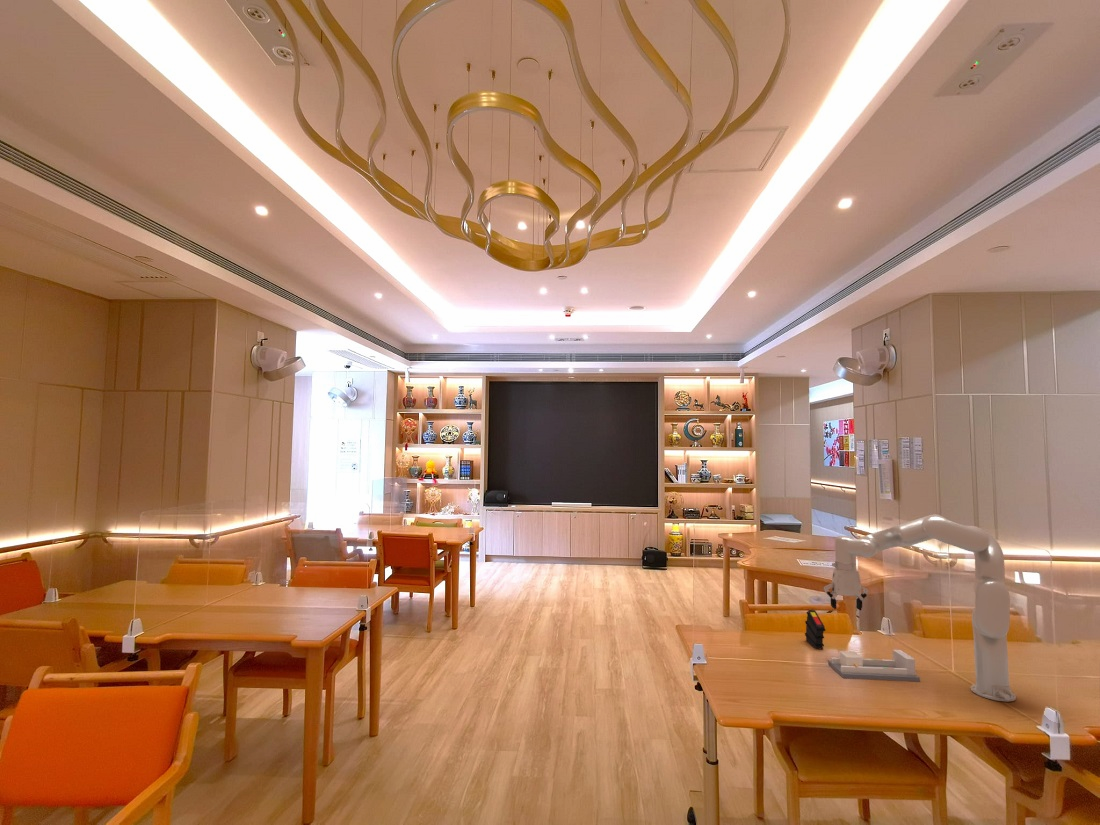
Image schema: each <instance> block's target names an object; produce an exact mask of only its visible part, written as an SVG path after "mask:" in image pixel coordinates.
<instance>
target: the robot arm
mask: <svg viewBox="0 0 1100 825" xmlns="http://www.w3.org/2000/svg"><path fill="white" fill-rule="evenodd" d="M933 539H934V540H936V541H939V542H942V543H945V544H948V545H950V546H953V547H956V548H959V549H961V550H964V551H968V552H971V553H973V555H974V582H973V591H974V595H975V598H974V599H975V600H974V603H975V604H974V605H975V606H974V608H973V610H972V612H971V623H972V624H971V625H972V632H973V635H972V636H973V650H974V651H973V652H974V673H975V684H974V683H973V684H972V685H970V690H971V692H973V693H974V694H975V695H977V696H979V697H982V698H985V699H989V700H992V701H998V702H1006V703H1009V702H1014V701H1016V699H1017V698H1016V697H1017V696H1016V694H1015V693H1013V692H1012V691H1011V690H1012V689H1011V688H1012V687H1010V673H1009V672H1010V671H1009V657H1008V654H1009V652H1008V651H1009V650H1008V638H1007V637H1008V636H1007V634H1008V633H1009V630H1010V617H1011V615H1010V614H1011V612H1010V611H1011V598H1010V597H1011V596H1010V592H1009V589H1008V588H1007V586H1006V580H1005V578H1006V576H1005V575H1006V574H1005V573H1006V572H1005V557H1004V552H1003V549H1002V547H1001V546H1000V543H999V542H998V541H997V539H996V538H995V537H994V536H993V535H991V533H989V532H987V531H986V530H985V529H984V528H983V529H982V528H980V527H979V526H976V525H964V524H961V523H957V522H955V521H952V520H951V519H947V518H946V517H944V516H943V515H940V514H937V513H936V514H935V513H934V514H929V515H926V516H922V517H920V518H917V519H912V520H909V521H907V522H904V523H900V524H897V525H895V526H894V525H893V526H892V527H889V528H886V529H883V530H879V531H876V532H873V533H870V534H866V535H864V536H861V537H860V538H854V537H853V536H849V535H837V536H836V537H835V539H834V552H835V554H834V555H835V558H834V560H835V561H834V562H833V563H831V567H834V569H833V571H832V580H831V583H829V584H827V585H825V586H823V589H824V591H825V594H827V596H828V597H829V598H830V606H831V607H832V609H834V610H837V597H838V596H845V597H846V596H847V597H856V599H855V600H856V603H855V608H856V609H857V610H858V611H862V608H863V601H864V599H865V598H866V597H867V595H868V593H869V591H870V590H869V589H868V588H866V587H865V586H864V585H862V583H861V577H860V572H859V570H857V557H862V558H872V557H874V556H875V555H876V554H877V553H878V552H881V551H884V550H889V549H893V548H898V547H903V548H904V547H905V548H906V547H911V546H913V545H917V544H920V543H923V542H924V543H925V542H927V541H930V540H933ZM830 589H831V591H832V592H831V591H830ZM862 590H863V592H862Z"/></svg>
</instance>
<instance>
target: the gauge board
mask: <svg viewBox="0 0 1100 825" xmlns="http://www.w3.org/2000/svg"><path fill="white" fill-rule="evenodd" d="M892 658H893V659H882V658H863V667H860V666H858V667H856V666H842V665H841V664H840V661H839V657H832V656H831V660H827V663H828V664H827V665H828V666H830V667H831V668H832V669H833V670H834V671H835V672H836V673H837V674H838V675H839V676H841V678H842V679H850V680H851V679H855V680H856V679H857V680H875V681H876V680H879V681H896V682H897V681H899V682H903V681H904V682H921V678H920V676H919V675H917V674H916V659H915V658H914V657H912V656H911V655H909V654H908V653H906V652H904V651H903V650H901V649H892Z"/></svg>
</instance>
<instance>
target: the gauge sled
mask: <svg viewBox="0 0 1100 825" xmlns="http://www.w3.org/2000/svg"><path fill="white" fill-rule="evenodd" d="M838 651H839V652H838V653H839V654H838V655H839V657H838V658H839V661H840V664H841V665H842V666H856V667H858V666H860V667H863V659H864V658H863V657H862V656H861V655H860V654H858V653H857V652H856V651H848V650H846V651H845V650H838Z"/></svg>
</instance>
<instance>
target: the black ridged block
mask: <svg viewBox="0 0 1100 825" xmlns="http://www.w3.org/2000/svg"><path fill="white" fill-rule="evenodd" d="M806 615H807V616H806V620H805V621H804V624H805V625H806V628H805V632H804V636H805V641H806V642H807V643H808V644H809V645H810V646H812V647H813V648H814V649H816V650H823V649H824V647H825V644H824V643H823V642H824V641H823V640H824V639H825V637H824V632H826V629H825V625H824V623H823V621H822V620H821V618H820V616H819V614H818V613H817V611H816V610H815V609H808V610H807V611H806Z"/></svg>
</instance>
